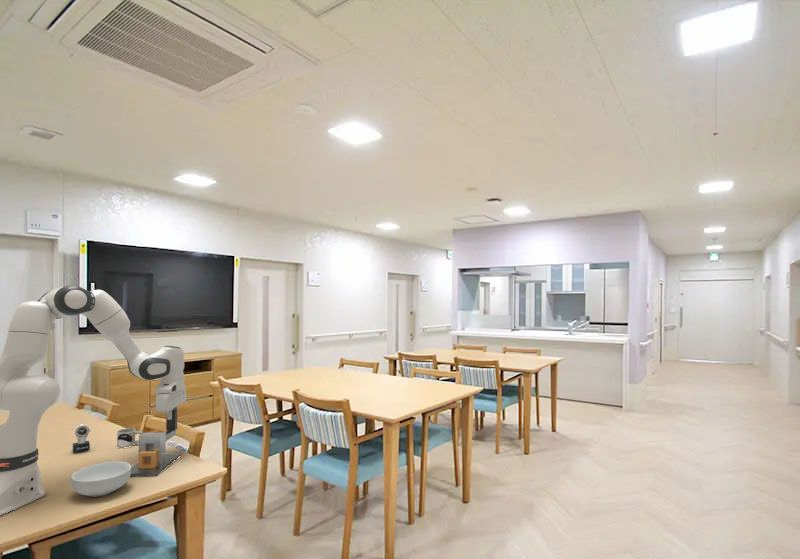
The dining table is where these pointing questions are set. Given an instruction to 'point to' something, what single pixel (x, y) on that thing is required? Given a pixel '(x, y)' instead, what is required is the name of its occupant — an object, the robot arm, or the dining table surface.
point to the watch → (81, 439)
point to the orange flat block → (142, 459)
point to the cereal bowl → (100, 478)
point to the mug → (127, 437)
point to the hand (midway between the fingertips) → (171, 418)
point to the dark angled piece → (170, 427)
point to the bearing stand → (162, 458)
